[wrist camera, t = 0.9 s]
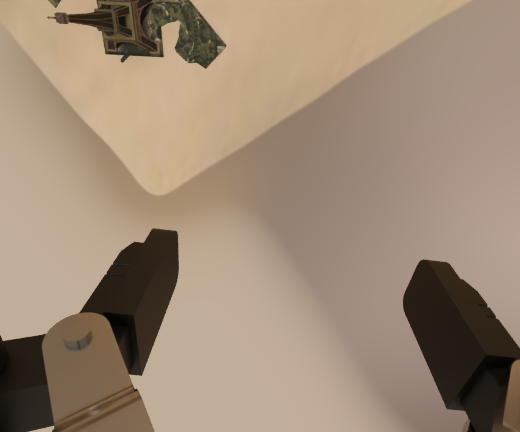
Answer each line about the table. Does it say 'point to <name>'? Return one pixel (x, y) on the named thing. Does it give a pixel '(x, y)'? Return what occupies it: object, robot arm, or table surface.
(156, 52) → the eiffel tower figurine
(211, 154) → the table surface
